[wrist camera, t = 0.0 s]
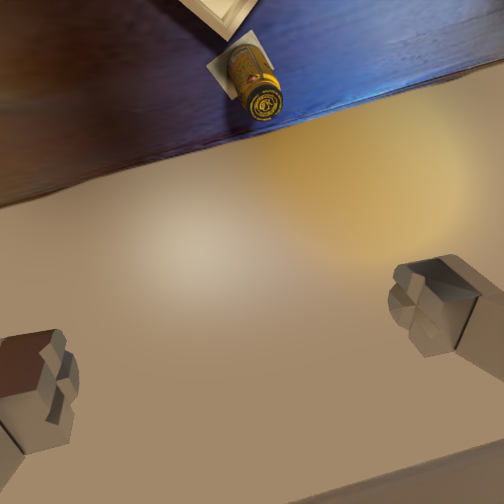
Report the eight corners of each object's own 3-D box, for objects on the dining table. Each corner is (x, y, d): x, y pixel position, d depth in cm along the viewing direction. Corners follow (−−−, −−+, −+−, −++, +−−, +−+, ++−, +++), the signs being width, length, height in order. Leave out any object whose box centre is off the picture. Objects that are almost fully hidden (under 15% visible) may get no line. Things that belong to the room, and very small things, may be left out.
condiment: (274, 68, 58) (297, 109, 51) (231, 99, 61) (247, 142, 54) (251, 28, 53) (273, 68, 46) (205, 64, 55) (219, 107, 48)
